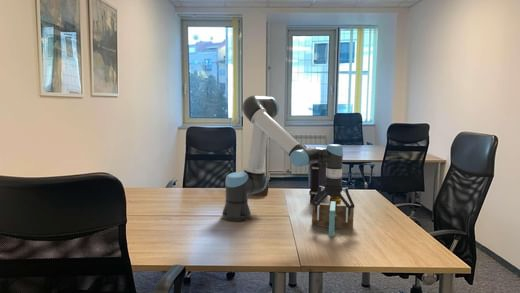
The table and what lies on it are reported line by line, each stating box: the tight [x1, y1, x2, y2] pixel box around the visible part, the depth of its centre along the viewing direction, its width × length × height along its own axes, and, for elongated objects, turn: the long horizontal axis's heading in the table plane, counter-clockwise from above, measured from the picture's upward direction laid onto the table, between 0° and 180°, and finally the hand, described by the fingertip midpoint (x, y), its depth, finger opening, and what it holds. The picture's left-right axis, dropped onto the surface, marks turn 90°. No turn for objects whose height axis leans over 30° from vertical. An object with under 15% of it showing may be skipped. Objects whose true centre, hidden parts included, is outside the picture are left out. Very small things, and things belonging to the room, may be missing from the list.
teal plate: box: [328, 201, 336, 238], centre depth 184 cm, size 20×2×11 cm, turn 168°
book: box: [308, 163, 327, 203], centre depth 244 cm, size 24×6×30 cm, turn 157°
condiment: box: [328, 196, 342, 215], centre depth 209 cm, size 7×8×12 cm
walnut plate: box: [311, 202, 355, 229], centre depth 190 cm, size 20×2×11 cm, turn 78°
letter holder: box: [250, 175, 269, 196], centre depth 258 cm, size 10×20×14 cm, turn 85°
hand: (332, 220), depth 184 cm, fingers open, 13 cm apart
